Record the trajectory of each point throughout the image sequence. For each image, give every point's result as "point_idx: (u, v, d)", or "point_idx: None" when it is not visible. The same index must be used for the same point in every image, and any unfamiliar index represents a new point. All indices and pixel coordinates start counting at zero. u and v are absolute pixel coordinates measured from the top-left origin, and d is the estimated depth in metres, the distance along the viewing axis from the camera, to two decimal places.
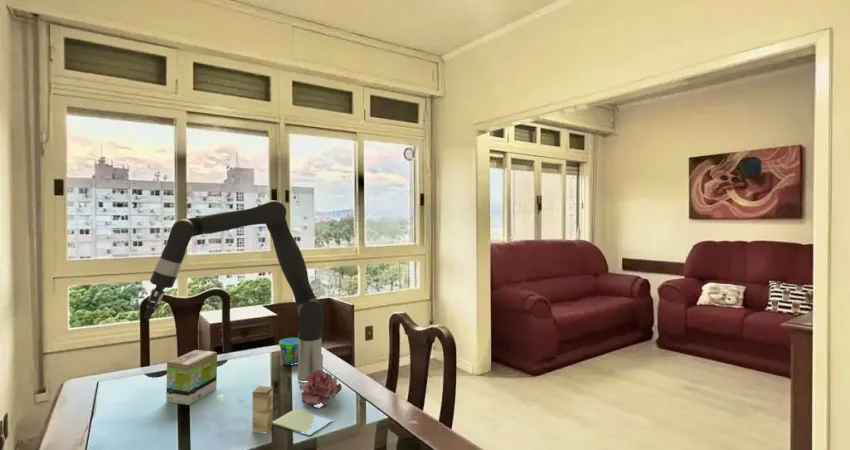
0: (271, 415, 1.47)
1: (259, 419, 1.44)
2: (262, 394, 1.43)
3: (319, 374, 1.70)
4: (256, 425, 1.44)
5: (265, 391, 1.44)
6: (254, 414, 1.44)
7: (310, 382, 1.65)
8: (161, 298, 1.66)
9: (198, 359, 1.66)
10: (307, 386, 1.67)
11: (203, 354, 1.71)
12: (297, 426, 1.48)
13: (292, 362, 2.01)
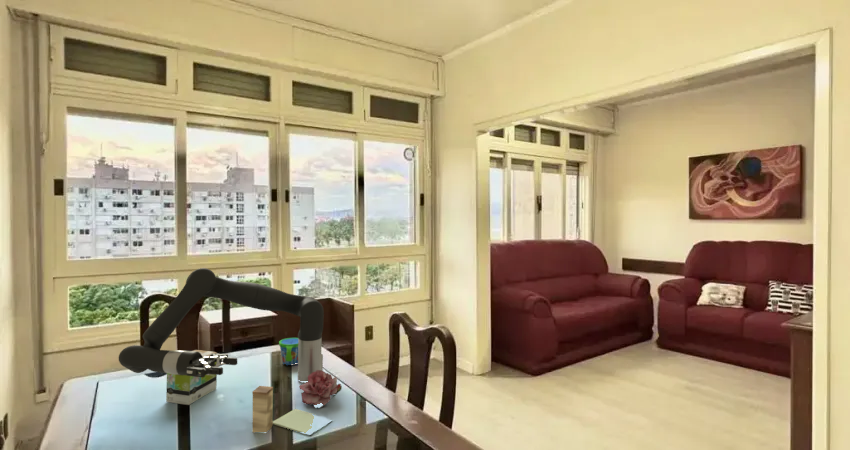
0: (271, 415, 1.47)
1: (259, 419, 1.44)
2: (262, 394, 1.43)
3: (319, 374, 1.70)
4: (256, 425, 1.44)
5: (265, 391, 1.44)
6: (254, 414, 1.44)
7: (310, 382, 1.65)
8: (215, 357, 1.50)
9: None
10: (307, 386, 1.67)
11: (203, 354, 1.71)
12: (297, 426, 1.48)
13: (292, 362, 2.01)
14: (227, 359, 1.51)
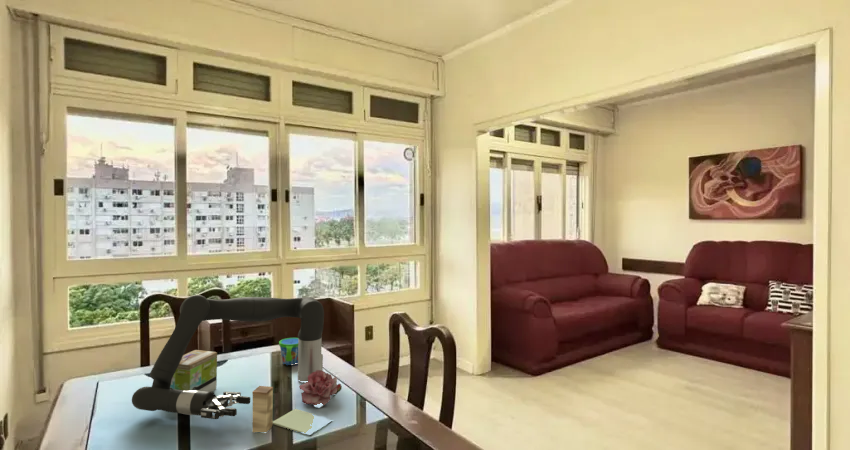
0: (271, 415, 1.47)
1: (259, 419, 1.44)
2: (262, 394, 1.43)
3: (319, 374, 1.70)
4: (256, 425, 1.44)
5: (265, 391, 1.44)
6: (254, 414, 1.44)
7: (310, 382, 1.65)
8: (228, 396, 1.50)
9: (198, 359, 1.66)
10: (307, 386, 1.67)
11: (203, 354, 1.71)
12: (297, 426, 1.48)
13: (292, 362, 2.01)
14: (240, 398, 1.51)
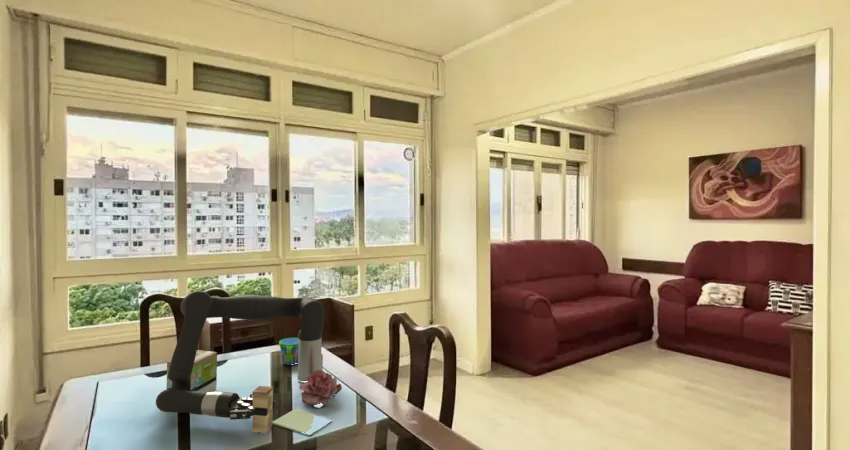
0: (271, 415, 1.47)
1: (259, 419, 1.44)
2: (262, 394, 1.43)
3: (319, 374, 1.70)
4: (256, 425, 1.44)
5: (265, 391, 1.44)
6: None
7: (310, 382, 1.65)
8: (252, 399, 1.48)
9: (198, 359, 1.66)
10: (307, 386, 1.67)
11: (203, 354, 1.71)
12: (297, 426, 1.48)
13: (292, 362, 2.01)
14: None
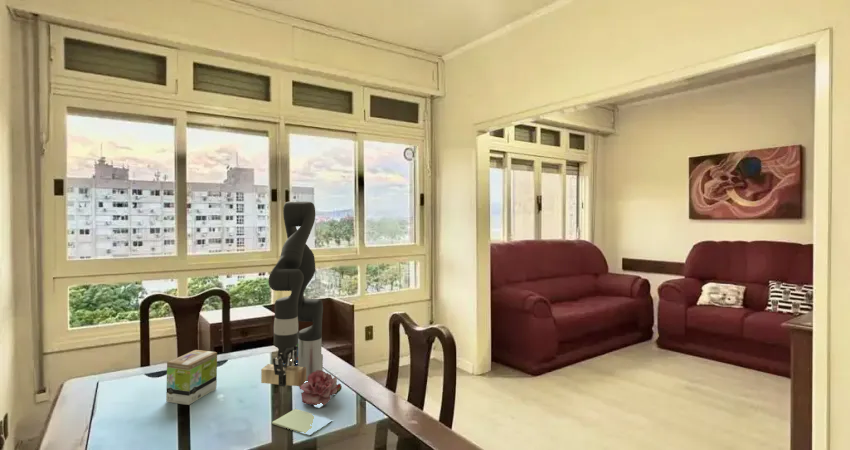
0: None
1: (274, 377, 1.46)
2: (298, 382, 1.45)
3: (319, 374, 1.70)
4: (267, 373, 1.46)
5: (301, 383, 1.46)
6: None
7: (310, 382, 1.65)
8: (292, 360, 1.49)
9: (198, 359, 1.66)
10: (307, 386, 1.67)
11: (203, 354, 1.71)
12: (297, 426, 1.48)
13: None
14: None
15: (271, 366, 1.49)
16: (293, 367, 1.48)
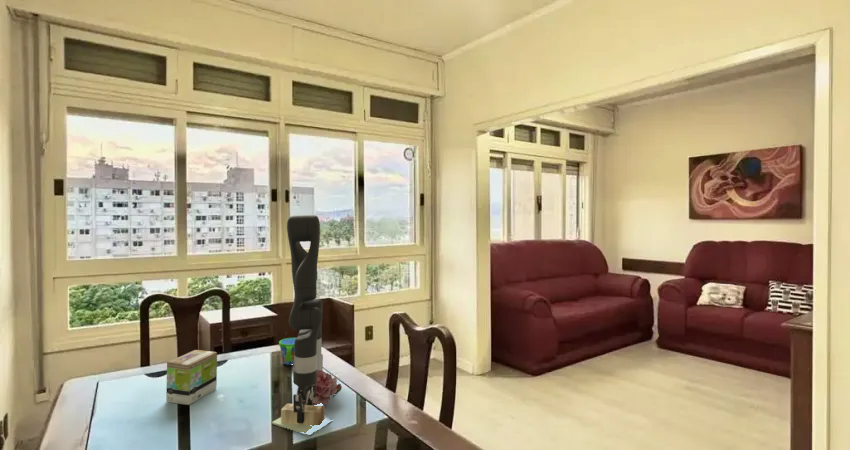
0: None
1: (293, 417, 1.49)
2: (318, 422, 1.48)
3: (319, 374, 1.70)
4: (287, 414, 1.49)
5: (320, 422, 1.49)
6: None
7: None
8: (312, 395, 1.52)
9: (198, 359, 1.66)
10: None
11: (203, 354, 1.71)
12: (297, 426, 1.48)
13: (292, 362, 2.01)
14: (310, 404, 1.54)
15: (290, 406, 1.52)
16: (312, 406, 1.52)
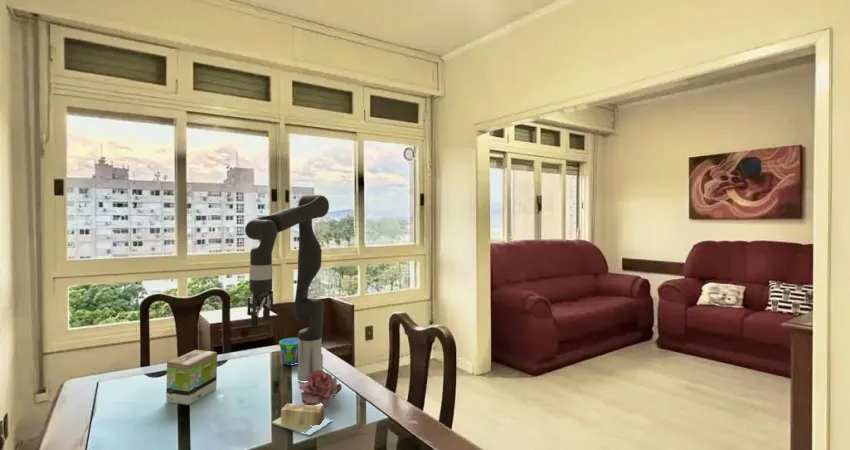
0: None
1: (293, 417, 1.49)
2: (318, 422, 1.48)
3: (319, 374, 1.70)
4: (287, 414, 1.49)
5: (320, 422, 1.49)
6: (298, 412, 1.49)
7: (310, 382, 1.65)
8: (268, 304, 1.61)
9: (198, 359, 1.66)
10: (307, 386, 1.67)
11: (203, 354, 1.71)
12: (297, 426, 1.48)
13: (292, 362, 2.01)
14: (267, 312, 1.63)
15: (290, 406, 1.52)
16: (312, 406, 1.52)
